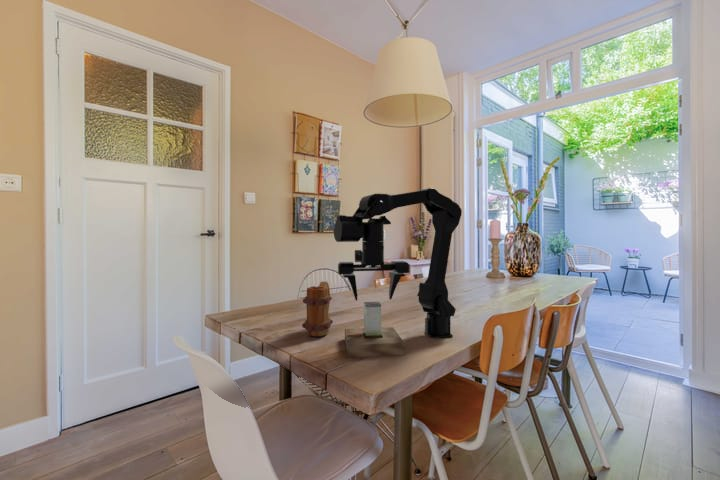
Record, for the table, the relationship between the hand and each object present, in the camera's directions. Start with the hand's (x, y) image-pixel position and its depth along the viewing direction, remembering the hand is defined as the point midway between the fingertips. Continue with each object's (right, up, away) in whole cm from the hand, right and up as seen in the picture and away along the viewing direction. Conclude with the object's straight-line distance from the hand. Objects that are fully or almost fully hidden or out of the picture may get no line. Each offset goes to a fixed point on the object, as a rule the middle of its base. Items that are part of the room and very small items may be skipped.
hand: (373, 299), depth 88 cm
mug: (-16, -13, +13) cm, 24 cm away
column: (0, -9, -1) cm, 9 cm away
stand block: (0, -12, -1) cm, 12 cm away
